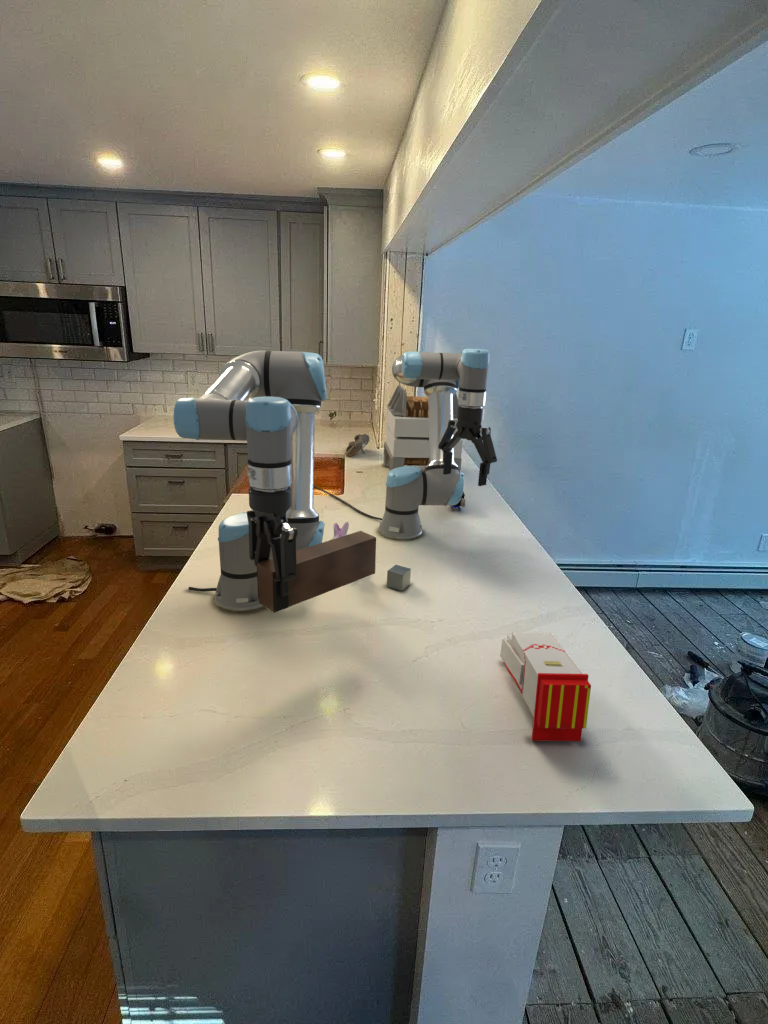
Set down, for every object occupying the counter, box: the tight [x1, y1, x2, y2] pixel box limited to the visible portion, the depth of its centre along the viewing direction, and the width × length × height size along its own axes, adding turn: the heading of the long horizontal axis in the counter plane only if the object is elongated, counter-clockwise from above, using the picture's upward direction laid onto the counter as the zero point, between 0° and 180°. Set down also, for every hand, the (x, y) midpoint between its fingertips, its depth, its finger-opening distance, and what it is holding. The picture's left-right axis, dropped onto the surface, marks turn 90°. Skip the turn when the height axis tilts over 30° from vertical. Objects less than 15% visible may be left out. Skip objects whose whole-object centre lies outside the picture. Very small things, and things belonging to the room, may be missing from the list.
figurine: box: [331, 521, 350, 540], centre depth 168 cm, size 9×10×15 cm
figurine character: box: [448, 490, 466, 511], centre depth 229 cm, size 7×8×15 cm
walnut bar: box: [257, 530, 377, 614], centre depth 114 cm, size 26×5×8 cm, turn 134°
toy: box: [499, 631, 592, 742], centre depth 117 cm, size 12×13×30 cm
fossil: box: [345, 433, 370, 458], centre depth 306 cm, size 22×10×15 cm
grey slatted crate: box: [383, 384, 464, 472], centre depth 268 cm, size 34×33×41 cm
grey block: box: [386, 564, 412, 592], centre depth 162 cm, size 5×5×5 cm
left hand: (273, 602), depth 108 cm, fingers closed on walnut bar, 5 cm apart
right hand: (464, 479), depth 165 cm, fingers open, 13 cm apart
